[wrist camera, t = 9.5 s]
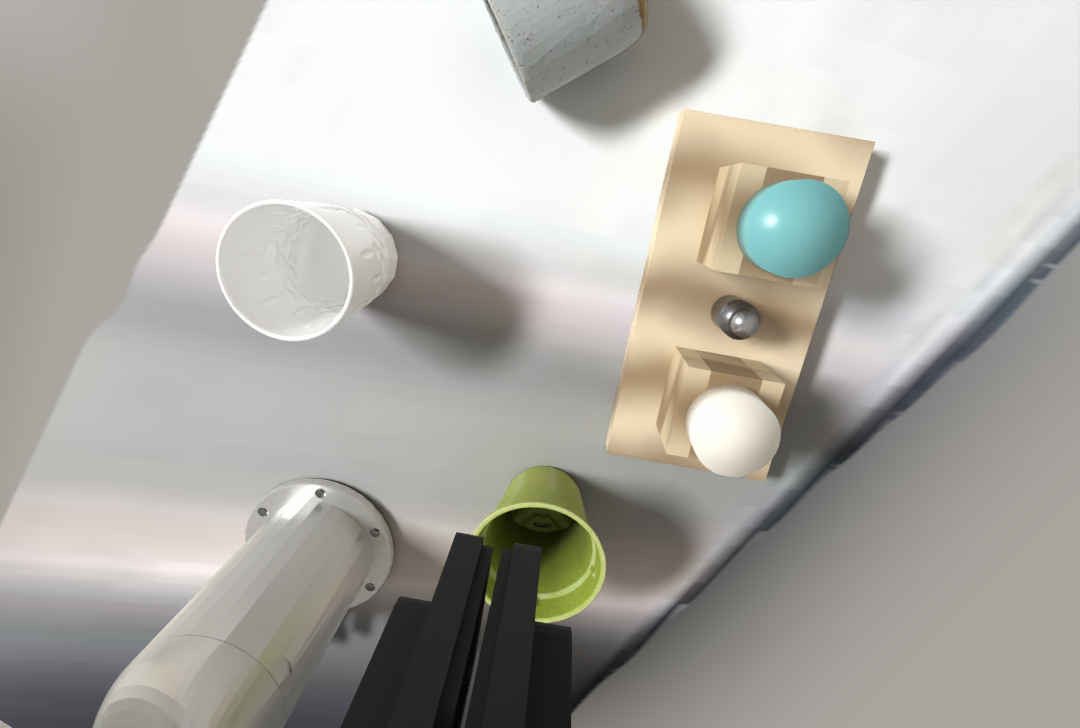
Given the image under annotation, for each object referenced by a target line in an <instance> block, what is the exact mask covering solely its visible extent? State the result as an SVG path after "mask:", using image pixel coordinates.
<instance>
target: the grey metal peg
mask: <svg viewBox="0 0 1080 728" xmlns="http://www.w3.org/2000/svg"><path fill="white" fill-rule="evenodd" d="M711 319H712V321H713V322H714V324H715V325H716V326H717V327H718V328H720V329H721V330H722V331H723V332H724V333H725V334H726V335H727V336H729V337H730V338H732V339H735V340H744V339H747V338H749V337H751V336H752V335H754V334H755V333H756V332H757V330H758V328H759V326H760V321H761V318H760V314H759V312H758V310H757V309H756V308H755V307H754V306H752V305H751V304H749V303H748V302H746V301H744V300H743V299H741V298H739V297H737V296H735V295H725V296H722V297H720V298H719V299H718V300H716V301H715V303H714V304H713V306H712V308H711Z"/></svg>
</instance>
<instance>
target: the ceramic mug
mask: <svg viewBox="0 0 1080 728" xmlns="http://www.w3.org/2000/svg"><path fill="white" fill-rule="evenodd" d="M484 3H485V5H486V8H487V11H488V13H489V15H490V17H491V20H492V22H493V24H494V27H495V29H496V32H497V34H498V36H499V38H500V40H501V42H502V45H503V47H504V50H505V52H506V54H507V56H508V59H509V61H510V63H511V65H512V67H513V70H514V72H515V74H516V76H517V78H518V80H519V82H520V84H521V86H522V89H523V91H524V92H525V95H526V97H527V98H528V100H529V101H531V102H536V101H538V100H540V99H542V98H543V97H545V96H546V95H548V94H550V93H551V92H553V91H555V90H557V89H558V88H560V87H562V86H564V85H565V84H567V83H569V82H571V81H573V80H574V79H576V78H578V77H580V76H581V75H583V74H585V73H586V72H588V71H589V70H591V69H593V68H595V67H596V66H598V65H600V64H602V63H604V62H605V61H607V60H609V59H611V58H613V57H614V56H616V55H618V54H619V53H621V52H623V51H624V50H625V49H627V48H628V47H629V46H630V45H632V44H633V43H634V42H635V41H637V40H638V39H639V38H640V37H641V35H642V34H643V32H644V30H645V27H646V24H647V19H648V2H647V0H484Z"/></svg>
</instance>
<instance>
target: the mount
mask: <svg viewBox="0 0 1080 728" xmlns="http://www.w3.org/2000/svg"><path fill="white" fill-rule="evenodd" d="M874 145H875V142H873V141H867V140H861V139H855V138H850V137H844V136H838V135H832V134H827V133H821V132H815V131H809V130H803V129H798V128H792V127H786V126H780V125H775V124H769V123H763V122H757V121H752V120H746V119H740V118H734V117H728V116H723V115H717V114H711V113H705V112H700V111H694V110H688V109H684V110H683V111H682V112H680V113H679V116H678V120H677V125H676V129H675V134H674V138H673V143H672V147H671V152H670V156H669V161H668V165H667V170H666V174H665V178H664V183H663V187H662V192H661V196H660V201H659V205H658V210H657V214H656V219H655V223H654V228H653V232H652V237H651V241H650V246H649V250H648V255H647V259H646V264H645V268H644V273H643V277H642V282H641V286H640V291H639V295H638V300H637V304H636V309H635V313H634V318H633V322H632V326H631V331H630V335H629V340H628V344H627V349H626V353H625V358H624V362H623V367H622V371H621V376H620V380H619V385H618V389H617V394H616V398H615V403H614V407H613V412H612V416H611V421H610V425H609V430H608V434H607V439H606V447H607V453H611V454H617V455H622V456H628V457H633V458H639V459H645V460H650V461H656V462H661V463H667V464H672V465H678V466H683V467H689V468H694V469H700V470H706V471H711V470H709V469H708V468H706V467H705V466H704V465H703V464H702V463H701V461H700V460H699V459H698V457H697V455H696V453H695V451H694V449H693V447H692V445H691V442H690V440H689V438H688V436H687V433H686V429H685V418H686V414H687V411H688V408H689V406H690V405H691V403H692V402H693V400H694V399H695V398H696V397H697V396H698V395H699V394H701V393H702V392H703V391H705V390H707V389H709V388H711V387H714V386H717V385H722V384H736V385H740V386H743V387H746V388H748V389H750V390H751V391H753V392H754V393H755V394H756V395H757V396H758V397H759V398H760V399H761V400H762V401H763V402H764V403H765V404H766V405H767V407H768V408H769V409H770V410H771V411H772V412H773V413H774V415H775V416H776V418H777V420H778V422H779V425H780V430H782V427H783V424H784V421H785V418H786V415H787V412H788V409H789V406H790V403H791V399H792V396H793V393H794V390H795V387H796V384H797V381H798V378H799V375H800V372H801V369H802V366H803V363H804V360H805V357H806V353H807V350H808V347H809V344H810V341H811V338H812V335H813V332H814V329H815V326H816V323H817V320H818V317H819V314H820V310H821V307H822V304H823V301H824V298H825V295H826V292H827V289H828V286H829V283H830V280H831V277H832V274H833V271H834V267H835V264H836V261H837V258H838V256H837V257H836V258H835V259H834V261H833V262H831V263H830V264H829V265H828V266H827V267H825V268H824V269H823V270H821V271H819V272H817V273H815V274H812V275H810V276H806V277H801V278H785V277H781V276H778V275H775V274H772V273H770V272H767V271H765V270H762V269H759V268H757V267H756V266H754V265H753V264H751V263H750V262H749V261H748V260H747V259H746V258H745V256H744V255H743V254H742V252H741V250H740V248H739V245H738V241H737V223H738V219H739V216H740V213H741V211H742V209H743V207H744V206H745V204H746V202H747V201H748V200H749V199H750V198H751V197H752V196H753V195H754V194H755V193H756V192H757V191H759V190H760V189H762V188H763V187H765V186H767V185H769V184H772V183H775V182H780V181H788V180H800V179H811V180H817V181H821V182H824V183H826V184H828V185H830V186H831V187H833V188H834V189H835V190H836V191H837V192H838V193H839V194H840V195H841V196H842V198H843V199H844V201H845V203H846V206H847V208H848V212H849V218H851V215H852V212H853V209H854V206H855V203H856V200H857V197H858V194H859V191H860V188H861V185H862V182H863V178H864V175H865V172H866V169H867V166H868V163H869V160H870V157H871V154H872V151H873V148H874ZM725 295H735V296H737V297H739V298H741V299H743V300H744V301H746V302H748V303H749V304H751V305H752V306H754V307H755V308H756V309H757V310H758V312H759V314H760V318H761V321H760V326H759V328H758V330H757V332H756V333H755V334H754V335H752V336H751V337H749V338H747V339H744V340H735V339H732V338H730V337H729V336H727V335H726V334H725V333H724V332H723V331H722V330H721V329H720V328H718V327H717V326H716V325H715V324H714V322H713V321H712V319H711V308H712V306H713V304H714V303H715V301H716V300H718V299H719V298H720V297H722V296H725ZM771 461H772V459H771ZM771 461H770V462H769V463H768V464H767V465H765V466H764V467H763V468H761V469H760V470H758V471H756V472H754V473H751V474H749V475H745V476H739V477H744V478H750V479H755V480H761V481H765V479H766V476H767V473H768V470H769V467H770V464H771ZM711 472H712V471H711Z"/></svg>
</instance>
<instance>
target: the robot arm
mask: <svg viewBox="0 0 1080 728" xmlns="http://www.w3.org/2000/svg"><path fill="white" fill-rule="evenodd" d="M483 544H484V537H480V536H475V535H469V534H464V533H458V532H457V533H456V535H455V538H454V540H453V543H452V546H451V549H450V552H449V554H448V557H447V560H446V563H445V566H444V568H443V571H442V574H441V577H440V580H439V582H438V585H437V588H436V591H435V594H434V597H433V599H432V602H428V601H423V600H418V599H412V598H407V597H400V598H399V599H398V600H397V602H396V604H395V606H394V608H393V611H392V613H391V615H390V617H389V620H388V622H387V624H386V626H385V629H384V631H383V633H382V635H381V638H380V640H379V642H378V644H377V647H376V649H375V651H374V653H373V656H372V658H371V660H370V662H369V665H368V667H367V669H366V671H365V674H364V676H363V678H362V680H361V683H360V685H359V687H358V689H357V692H356V694H355V696H354V698H353V701H352V703H351V705H350V707H349V710H348V712H347V714H346V716H345V719H344V721H343V723H342V726H341V728H461V723H462V718H463V714H464V709H465V704H466V700H467V695H468V691H469V686H470V681H471V677H472V672H473V667H474V662H475V656H476V650H477V644H478V638H479V632H480V626H481V620H482V614H483V608H484V602H485V596H486V590H487V584H488V578H489V572H490V566H491V560H492V554H493V547H492V546H486V545H483ZM541 552H542V548H541V547H535V546H530V545H524V544H519V543H514V548H513V550H508V549H503V548H502V552H501V557H500V561H499V566H498V571H497V576H496V581H495V585H494V590H493V595H492V600H491V605H490V609H489V614H488V619H487V624H486V628H485V633H484V638H483V643H482V648H481V652H480V657H479V662H478V667H477V671H476V676H475V681H474V686H473V691H472V695H471V700H470V705H469V710H468V715H467V720H466V725H465V728H571V664H572V632H571V628H570V627H565V626H559V625H554V624H548V623H543V622H537V621H535V614H536V604H537V594H538V583H539V573H540V562H541ZM393 555H394V548H393V539H392V536H391V533H390V530H389V527H388V525H387V523H386V522H385V520H384V518H383V516H382V515H381V514H380V512H379V511H378V510H377V509H376V508H375V506H374V505H373V504H372V503H371V502H369V501H368V500H367V499H366V498H365V497H364V496H362V495H361V494H359V493H358V492H356V491H354V490H353V489H351V488H349V487H347V486H344V485H342V484H339V483H337V482H333V481H329V480H324V479H312V478H306V479H298V480H293V481H290V482H287V483H284V484H281V485H279V486H278V487H276V488H274V489H273V490H271V491H270V492H269V493H268V494H267V495H265V496H264V497H263V498H262V499H261V500H260V501H259V502H258V503H257V504H256V505H255V507H254V508H253V510H252V512H251V514H250V516H249V518H248V521H247V525H246V530H245V544H244V545H243V546H242V547H241V548H240V549H239V550H238V551H237V552H236V553H235V554H234V555H233V556H232V558H231V559H230V560H229V561H228V562H227V563H226V564H225V565H224V566H223V567H222V568H221V569H220V570H219V571H218V572H217V573H216V574H215V575H214V576H213V577H212V578H211V579H210V580H209V581H208V583H207V584H206V585H205V586H204V587H203V588H202V589H201V590H200V591H199V592H198V593H197V594H196V595H195V596H194V597H193V598H192V599H191V600H190V601H189V602H188V603H187V604H186V605H185V607H184V608H183V609H182V610H181V611H180V612H179V613H178V614H177V615H176V616H175V617H174V618H173V619H172V620H171V621H170V622H169V623H168V624H167V625H166V626H165V627H164V628H163V629H162V630H161V632H160V633H159V634H158V635H157V636H156V637H155V638H154V639H153V640H152V641H151V642H150V643H149V644H148V645H147V646H146V647H145V648H144V650H142V651H141V652H140V653H139V655H138V656H137V657H136V658H135V659H134V660H133V661H132V662H131V663H130V664H129V665H128V666H127V667H126V669H125V670H124V671H123V672H122V673H121V674H120V675H119V677H118V678H117V679H116V681H115V682H114V684H113V685H112V687H111V688H110V690H109V691H108V693H107V695H106V696H105V698H104V700H103V703H102V705H101V707H100V709H99V711H98V713H97V716H96V719H95V721H94V725H93V728H283V727H284V725H285V724H286V722H287V720H288V718H289V716H290V714H291V713H292V711H293V709H294V707H295V705H296V704H297V702H298V700H299V698H300V696H301V695H302V693H303V691H304V689H305V687H306V685H307V684H308V682H309V680H310V678H311V676H312V675H313V673H314V671H315V669H316V667H317V666H318V664H319V662H320V660H321V658H322V657H323V655H324V653H325V651H326V649H327V647H328V646H329V644H330V642H331V640H332V638H333V637H334V635H335V633H336V631H337V629H338V628H339V626H340V624H341V622H342V620H343V618H344V617H345V615H346V613H347V611H348V609H349V608H352V607H355V606H358V605H360V604H362V603H364V602H366V601H367V600H369V599H370V598H371V597H372V596H374V595H375V594H376V593H377V592H378V590H379V589H380V588H381V587H382V585H383V584H384V582H385V580H386V578H387V576H388V574H389V572H390V569H391V566H392V563H393ZM0 728H11V727H10V726H8V725H7V724H5V723H4V722H2V721H1V720H0Z"/></svg>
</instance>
